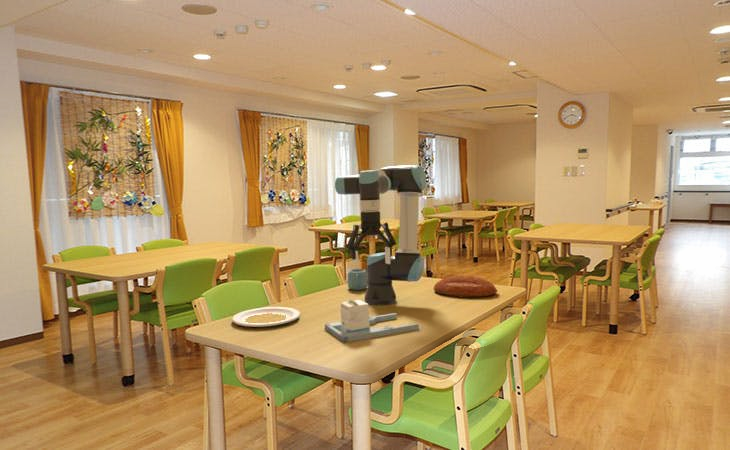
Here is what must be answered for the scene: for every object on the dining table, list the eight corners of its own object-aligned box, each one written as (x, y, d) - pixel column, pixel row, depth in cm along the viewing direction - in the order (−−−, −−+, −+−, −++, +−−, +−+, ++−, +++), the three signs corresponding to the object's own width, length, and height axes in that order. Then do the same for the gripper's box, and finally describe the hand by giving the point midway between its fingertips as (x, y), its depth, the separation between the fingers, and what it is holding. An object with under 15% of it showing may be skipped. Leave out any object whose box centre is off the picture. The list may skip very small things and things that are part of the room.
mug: (368, 292, 261) (367, 273, 260) (346, 292, 261) (346, 273, 260) (368, 286, 276) (367, 268, 275) (348, 286, 276) (347, 268, 275)
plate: (275, 308, 234) (275, 303, 234) (313, 319, 214) (313, 314, 214) (220, 321, 214) (220, 316, 214) (256, 334, 194) (256, 328, 194)
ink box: (370, 334, 191) (369, 299, 189) (350, 337, 187) (349, 302, 186) (360, 328, 198) (359, 294, 197) (341, 331, 195) (339, 297, 193)
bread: (493, 300, 237) (493, 282, 236) (428, 296, 249) (427, 278, 248) (500, 290, 258) (500, 273, 257) (439, 287, 270) (439, 270, 269)
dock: (324, 329, 198) (324, 324, 198) (394, 317, 212) (394, 313, 212) (344, 342, 181) (344, 337, 181) (419, 329, 195) (419, 324, 194)
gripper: (343, 213, 184) (346, 271, 187) (403, 209, 195) (405, 263, 197) (336, 212, 191) (338, 267, 194) (394, 208, 201) (396, 260, 204)
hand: (372, 265), depth 195 cm, fingers open, 13 cm apart
